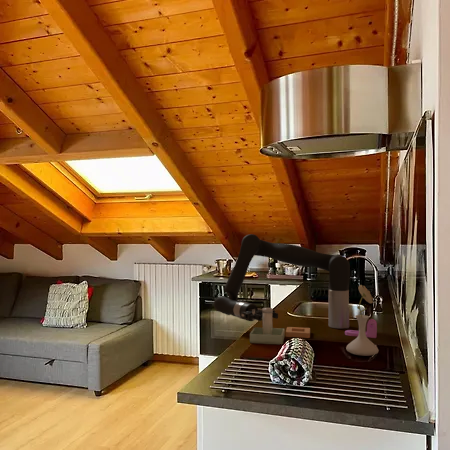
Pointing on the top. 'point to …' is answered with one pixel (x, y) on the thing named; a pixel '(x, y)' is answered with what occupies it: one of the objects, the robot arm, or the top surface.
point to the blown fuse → (267, 321)
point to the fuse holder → (298, 332)
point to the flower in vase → (362, 330)
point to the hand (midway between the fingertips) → (269, 317)
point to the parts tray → (267, 336)
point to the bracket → (370, 331)
